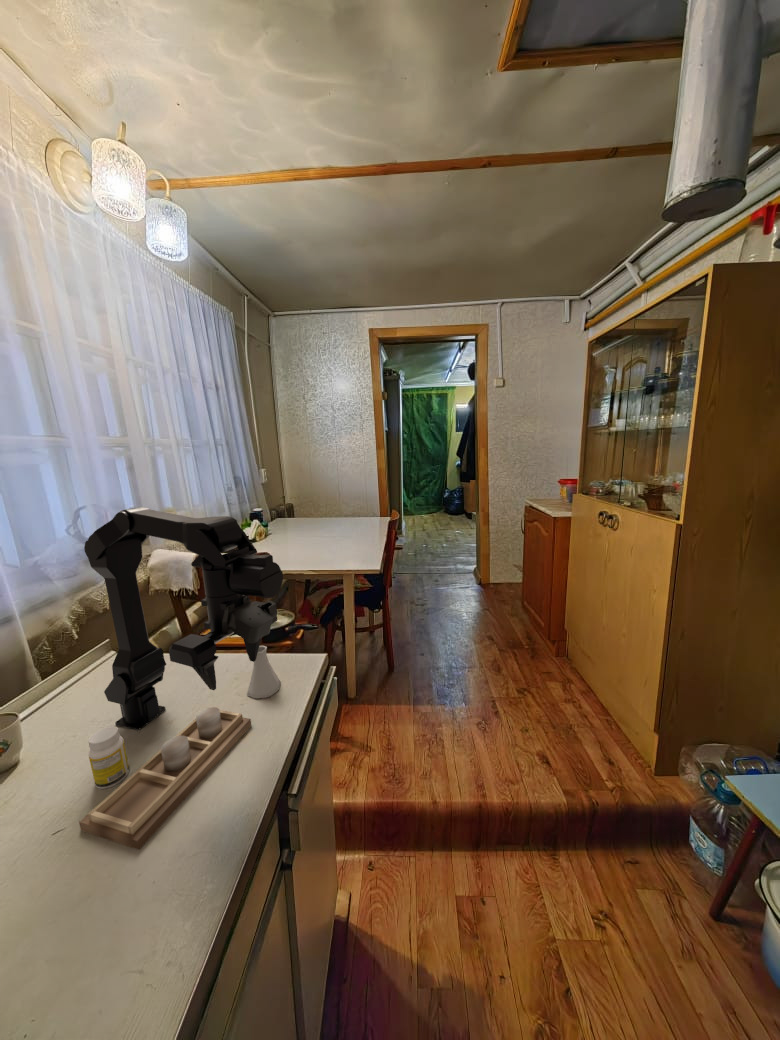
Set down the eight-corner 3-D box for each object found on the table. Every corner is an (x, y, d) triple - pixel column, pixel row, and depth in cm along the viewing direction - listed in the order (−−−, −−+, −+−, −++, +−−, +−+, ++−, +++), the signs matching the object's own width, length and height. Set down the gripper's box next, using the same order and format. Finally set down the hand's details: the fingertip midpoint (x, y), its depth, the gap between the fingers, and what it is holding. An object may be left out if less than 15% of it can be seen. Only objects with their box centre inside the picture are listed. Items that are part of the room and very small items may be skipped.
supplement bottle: (107, 767, 66) (98, 725, 65) (135, 764, 66) (127, 722, 65) (88, 791, 61) (78, 746, 60) (118, 788, 62) (109, 743, 60)
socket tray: (80, 830, 55) (74, 801, 54) (205, 716, 78) (202, 695, 77) (139, 849, 52) (132, 819, 51) (251, 725, 75) (248, 702, 74)
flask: (270, 701, 82) (265, 658, 80) (240, 698, 83) (235, 656, 82) (286, 681, 89) (282, 641, 87) (258, 679, 90) (253, 640, 89)
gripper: (213, 621, 53) (226, 720, 56) (296, 578, 70) (303, 656, 73) (160, 610, 57) (174, 702, 60) (250, 572, 74) (258, 646, 77)
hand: (234, 674), depth 67 cm, fingers open, 9 cm apart
